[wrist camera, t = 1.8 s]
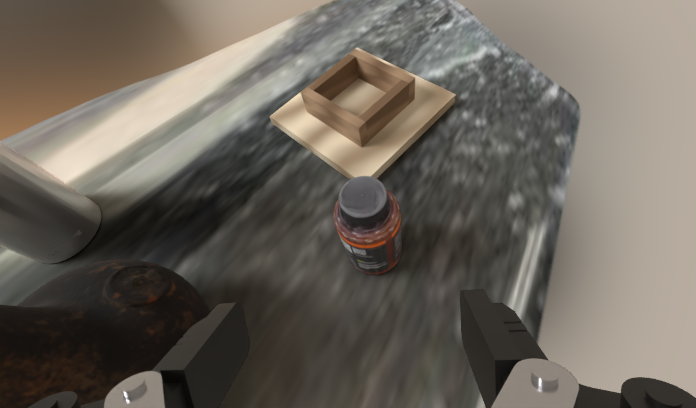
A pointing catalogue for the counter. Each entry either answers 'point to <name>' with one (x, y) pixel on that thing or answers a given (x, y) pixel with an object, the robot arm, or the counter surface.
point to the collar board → (362, 114)
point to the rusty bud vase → (93, 330)
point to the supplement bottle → (369, 225)
